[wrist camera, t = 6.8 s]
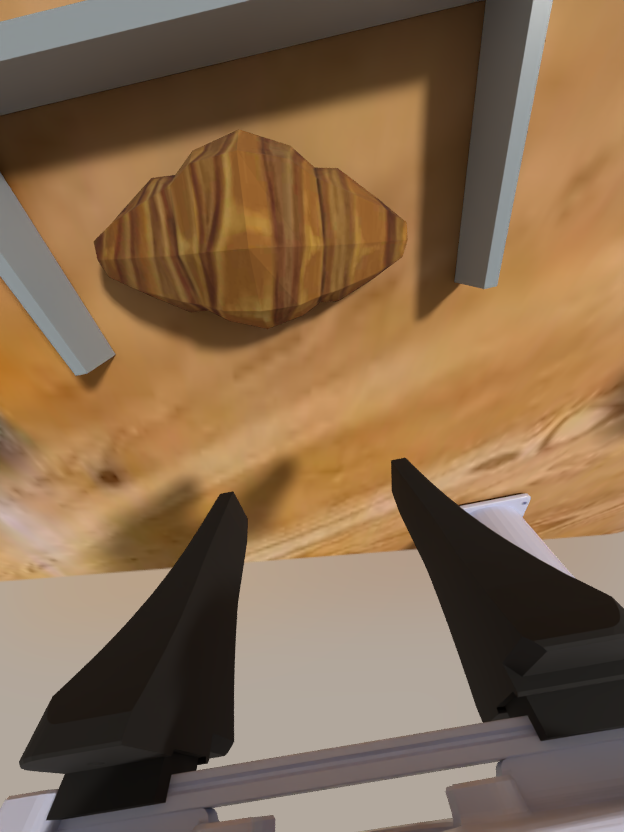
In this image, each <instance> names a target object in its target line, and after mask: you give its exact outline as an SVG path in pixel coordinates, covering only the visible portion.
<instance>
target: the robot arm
mask: <svg viewBox="0 0 624 832" xmlns="http://www.w3.org/2000/svg"><path fill="white" fill-rule="evenodd" d="M391 474H392V493H393V496H394V499H395V502H396V504H397V507H398V510H399V512H400V515H401V517H402V519H403V521H404V523H405V525H406V527H407V529H408V531H409V533H410V535H411V537H412V539H413V541H414V543H415V545H416V547H417V550H418V552H419V554H420V555H421V558H422V560H423V562H424V564H425V566H426V568H427V571H428V573H429V576H430V578H431V581H432V584H433V586H434V589H435V591H436V594H437V596H438V599H439V602H440V604H441V607H442V610H443V613H444V615H445V618H446V621H447V623H448V626H449V629H450V632H451V634H452V637H453V640H454V643H455V646H456V648H457V651H458V654H459V657H460V660H461V663H462V666H463V669H464V672H465V674H466V677H467V680H468V683H469V686H470V689H471V692H472V695H473V698H474V701H475V704H476V707H477V710H478V712H479V715H480V717H481V719H482V722H483V723H479V724H473V725H467V726H461V727H455V728H449V729H443V730H437V731H431V732H425V733H419V734H413V735H407V736H401V737H396V738H389V739H383V740H377V741H372V742H365V743H359V744H353V745H347V746H341V747H336V748H329V749H323V750H318V751H312V752H305V753H299V754H293V755H287V756H281V757H276V758H269V759H263V760H257V761H251V762H246V763H240V764H233V765H227V766H222V767H216V768H210V769H203V770H198V771H196V769H197V765H201V764H207V763H208V761H209V758H215V757H221V756H225V755H226V754H227V753H228V751H229V750H230V748H231V746H232V744H233V742H234V668H235V666H234V665H235V641H236V624H237V608H238V598H239V592H240V584H241V579H242V572H243V565H244V559H245V552H246V545H247V529H248V518H247V516H246V515H245V513H244V511H243V509H242V507H241V505H240V503H239V501H238V499H237V497H236V496H235V494H234V492H228V493H223V494H220V495H219V497H218V498H217V500H216V501H215V503H214V505H213V506H212V508H211V510H210V511H209V513H208V515H207V516H206V518H205V520H204V521H203V523H202V525H201V526H200V528H199V529H198V531H197V532H196V534H195V536H194V537H193V539H192V540H191V542H190V543H189V545H188V546H187V548H186V549H185V551H184V552H183V554H182V555H181V556H180V558H179V559H178V561H177V562H176V564H175V565H174V566H173V568H172V569H171V570H170V572H169V573H168V575H167V576H166V577H165V578H164V580H163V581H162V582H161V584H160V585H159V586H158V587H157V589H156V590H155V591H154V592H153V594H152V595H151V596H150V597H149V598H148V599H147V601H146V602H145V603H144V604H143V605H142V606H141V607H140V609H139V610H138V611H137V612H136V613H135V615H134V616H133V617H132V618H131V619H130V620H129V621H128V622H127V623H126V625H125V626H124V627H123V628H122V629H121V630H120V631H119V632H118V633H117V634H116V635H115V636H114V637H113V638H112V639H111V641H109V643H108V644H107V645H106V646H105V647H104V648H103V649H102V650H101V651H100V652H99V653H98V654H97V655H96V656H95V657H94V658H93V659H92V660H91V661H90V662H89V663H88V664H86V665H85V666H84V668H82V669H81V670H80V671H79V672H78V673H77V674H76V675H75V676H74V677H73V678H72V679H71V680H70V681H69V682H68V683H67V684H65V685H64V686H63V687H62V688H61V689H60V691H58V692H57V693H56V694H55V695H54V696H53V697H52V699H51V701H50V703H49V705H48V707H47V708H46V710H45V712H44V715H43V716H42V718H41V720H40V722H39V724H38V726H37V728H36V730H35V732H34V734H33V736H32V738H31V740H30V742H29V744H28V745H27V747H26V749H25V751H24V753H23V755H22V757H21V759H20V761H19V764H20V767H21V768H22V769H24V770H30V771H39V772H51V773H62V774H65V775H64V778H63V780H62V782H61V785H60V787H59V789H54V790H45V791H38V792H32V793H26V794H20V795H15V796H9V797H8V798H7V799H6V800H5V801H4V803H3V805H2V807H1V809H0V832H275V818H274V816H273V815H270V816H262V817H250V818H243V819H236V820H229V821H222V822H220V821H219V820H218V816H217V813H216V811H215V810H214V809H213V808H215V807H221V806H227V805H233V804H239V803H246V802H252V801H258V800H264V799H270V798H276V797H283V796H288V795H295V794H301V793H307V792H313V791H319V790H326V789H331V788H338V787H344V786H350V785H356V784H362V783H369V782H375V781H380V780H387V779H393V778H399V777H405V776H412V775H417V774H424V773H430V772H436V771H442V770H449V769H454V768H461V767H467V766H473V765H479V764H485V763H492V762H498V761H500V762H498V763H497V766H496V777H494V778H488V779H482V780H476V781H470V782H465V783H459V784H453V785H452V786H449V787H447V788H446V795H447V798H448V802H449V805H450V808H451V812H452V816H453V818H449V819H442V820H435V821H428V822H420V823H413V824H407V825H400V826H392V827H386V828H379V829H373V830H367V831H361V832H624V608H623V607H622V606H620V604H619V603H618V602H617V601H615V600H614V599H613V598H612V597H611V596H609V595H607V594H605V593H603V592H601V591H599V590H597V589H595V588H593V587H591V586H589V585H587V584H585V583H583V582H581V581H579V580H577V579H576V578H575V577H574V576H573V575H572V574H571V573H570V572H569V571H568V569H567V568H566V567H565V566H564V565H563V564H562V562H560V560H559V559H558V558H557V557H556V556H555V554H554V553H553V552H552V551H551V550H550V549H549V548H548V546H547V545H546V544H545V543H544V542H543V541H542V539H541V538H540V537H539V536H538V535H537V534H536V533H535V531H534V530H533V529H532V528H531V527H530V526H529V525H528V523H527V522H526V521H525V520H524V519H523V518H522V517H523V515H524V513H525V510H526V508H527V506H528V504H529V501H530V499H531V497H530V496H529V495H528V494H526V493H524V494H519V495H514V496H509V497H503V498H498V499H493V500H488V501H483V502H478V503H472V504H467V505H462V506H458V505H457V504H456V503H455V502H453V501H452V500H451V499H450V498H449V497H447V496H446V495H445V494H444V493H443V492H442V491H440V490H439V489H438V488H437V487H436V486H435V485H433V484H432V483H431V482H430V481H429V480H428V479H427V478H426V477H425V476H424V475H423V474H422V473H421V472H419V471H418V470H417V469H416V468H415V467H414V466H413V465H412V464H411V463H410V462H409V461H408V460H407V459H406V458H401V459H396V460H391Z"/></svg>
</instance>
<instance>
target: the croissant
mask: <svg viewBox="0 0 624 832" xmlns="http://www.w3.org/2000/svg"><path fill="white" fill-rule="evenodd" d="M406 243H407V225H406V221H404V220H403V219H401V218H400V217H399V216H398V215H397V214H395V213H394V212H393V211H392V210H391V209H389V208H388V207H387V206H386V205H385V204H383V203H382V202H381V201H380V200H379V199H377V198H376V197H375V196H373V195H372V194H371V193H369V192H368V191H367V190H366V189H364V188H363V187H362V186H360V185H359V184H358V183H356V182H355V181H354V180H352V179H351V178H350V177H348V176H347V175H346V174H345V173H343V172H342V171H341V170H339V169H338V168H314V167H313V166H312V165H311V164H310V163H309V162H308V161H307V160H305V159H304V158H303V157H302V156H301V155H300V154H299V153H298V152H297V151H296V150H294V149H293V148H292V147H291V146H289V145H286V144H282V143H279V142H276V141H273V140H270V139H267V138H264V137H261V136H257V135H254V134H251V133H248V132H245V131H242V130H237V131H235V132H232V133H230V134H228V135H226V136H224V137H222V138H219V139H217V140H215V141H213V142H211V143H209V144H206V145H204V146H202V147H200V148H198V149H196V150H193V151H192V152H191V154H190V155H189V157H188V158H187V160H186V161H185V162H184V164H183V165H182V167H181V168H180V169H179V171H178V172H177V174H176V175H172V176H164V177H157V178H151V179H150V181H149V182H148V183H147V184H146V185H145V186H144V187H143V188H142V189H141V191H140V192H139V193H138V194H137V195H136V196H135V197H134V198H133V199H132V201H131V202H130V203H129V204H128V205H127V206H126V207H125V208H124V210H123V211H122V212H121V213H120V214H119V215H118V216H117V218H116V219H115V220H114V221H113V223H112V224H111V225H110V226H109V227H108V228H107V229H106V230H105V231H104V232H103V233H102V234H101V235H100V236H99V237H98V238H97V239H96V240H95V241H94V245H95V250H96V254H97V259H98V261H99V263H100V264H101V266H102V267H103V269H104V270H105V272H106V273H107V275H108V276H109V277H110V278H112V279H115V280H117V281H119V282H121V283H123V284H126V285H128V286H130V287H132V288H134V289H137V290H139V291H141V292H143V293H146V294H148V295H150V296H153V297H155V298H158V299H160V300H162V301H165V302H167V303H170V304H172V305H175V306H177V307H180V308H182V309H184V310H187V311H189V312H197V311H207V310H209V311H211V312H213V313H215V314H217V315H219V316H221V317H223V318H225V319H227V320H229V321H232V322H237V323H242V324H247V325H252V326H257V327H262V328H266V329H268V328H271V327H274V326H276V325H279V324H282V323H284V322H287V321H289V320H292V319H295V318H297V317H300V316H302V315H304V314H305V313H307V312H308V311H309V310H311V309H312V308H313V307H315V306H316V305H317V304H319V303H320V302H328V301H339V300H340V299H342V298H343V297H345V296H347V295H348V294H350V293H351V292H353V291H354V290H356V289H358V288H359V287H361V286H362V285H364V284H365V283H367V282H369V281H370V280H372V279H373V278H375V277H376V276H377V275H379V274H380V273H381V272H383V271H384V270H385V269H387V268H388V267H389V266H391V265H392V264H393V263H395V262H396V261H397V260H399V259H400V258H401V257H402V256H403V253H404V249H405V246H406Z"/></svg>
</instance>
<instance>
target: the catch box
mask: <svg viewBox="0 0 624 832" xmlns="http://www.w3.org/2000/svg"><path fill="white" fill-rule="evenodd" d="M478 1H482V0H86V1H82V2H78V3H74V4H70V5H66V6H62V7H58V8H54V9H50V10H46V11H42V12H38V13H34V14H30V15H26V16H22V17H18V18H14V19H10V20H6V21H2V22H0V115H4V114H9V113H13V112H17V111H21V110H25V109H30V108H34V107H38V106H42V105H46V104H50V103H55V102H59V101H63V100H67V99H71V98H76V97H80V96H84V95H88V94H92V93H97V92H101V91H105V90H109V89H113V88H117V87H122V86H126V85H130V84H134V83H138V82H143V81H147V80H151V79H155V78H159V77H164V76H168V75H172V74H176V73H180V72H184V71H189V70H193V69H197V68H201V67H205V66H210V65H214V64H218V63H222V62H226V61H231V60H235V59H239V58H243V57H247V56H251V55H256V54H260V53H264V52H268V51H272V50H277V49H281V48H285V47H289V46H293V45H298V44H302V43H306V42H310V41H314V40H318V39H323V38H327V37H331V36H335V35H339V34H344V33H348V32H352V31H356V30H360V29H365V28H369V27H373V26H377V25H381V24H385V23H390V22H394V21H398V20H402V19H406V18H411V17H415V16H419V15H423V14H427V13H431V12H436V11H440V10H444V9H448V8H452V7H457V6H461V5H465V4H469V3H473V2H478ZM552 2H553V0H486V4H485V13H484V22H483V31H482V40H481V49H480V58H479V67H478V76H477V85H476V94H475V103H474V112H473V121H472V130H471V138H470V147H469V156H468V165H467V174H466V183H465V192H464V201H463V210H462V219H461V228H460V237H459V246H458V255H457V264H456V273H455V282H456V283H460V284H465V285H469V286H473V287H478V288H482V289H486V288H491V287H495V286H497V283H498V278H499V273H500V268H501V263H502V258H503V253H504V248H505V242H506V237H507V232H508V227H509V222H510V217H511V212H512V207H513V201H514V196H515V191H516V186H517V181H518V176H519V171H520V166H521V161H522V155H523V150H524V145H525V140H526V135H527V130H528V125H529V120H530V114H531V109H532V104H533V99H534V94H535V89H536V84H537V79H538V74H539V68H540V63H541V58H542V53H543V48H544V43H545V38H546V33H547V27H548V22H549V17H550V12H551V7H552ZM0 276H1V278H2V279H3V280H4V282H5V283H6V284H7V286H8V287H9V288H10V290H11V291H12V292H13V294H14V295H15V296H16V297H17V299H18V300H19V301H20V303H21V304H22V305H23V307H24V308H25V309H26V311H27V312H28V313H29V315H30V316H31V317H32V319H33V320H34V321H35V323H36V324H37V325H38V327H39V328H40V329H41V330H42V332H43V333H44V334H45V336H46V337H47V338H48V340H49V341H50V342H51V344H52V345H53V346H54V348H55V349H56V350H57V352H58V353H59V354H60V356H61V357H62V358H63V360H64V361H65V362H66V363H67V365H68V366H69V367H70V369H71V370H72V371H73V373H74V374H75V375H76V376H77V375H82V374H86V373H89V372H90V371H92V370H93V369H95V368H96V367H98V366H99V365H101V364H102V363H104V362H105V361H107V360H108V359H110V358H111V357H113V356H114V355H116V354H115V353H114V351H113V350H112V348H111V347H110V345H109V343H108V342H107V340H106V339H105V337H104V335H103V334H102V332H101V331H100V329H99V328H98V326H97V324H96V323H95V321H94V320H93V318H92V317H91V315H90V313H89V312H88V310H87V309H86V307H85V305H84V304H83V302H82V301H81V299H80V298H79V296H78V294H77V293H76V291H75V290H74V288H73V286H72V285H71V283H70V282H69V280H68V279H67V277H66V275H65V274H64V272H63V271H62V269H61V267H60V266H59V264H58V263H57V261H56V260H55V258H54V256H53V255H52V253H51V252H50V250H49V248H48V247H47V245H46V244H45V242H44V241H43V239H42V237H41V236H40V234H39V233H38V231H37V229H36V228H35V226H34V225H33V223H32V222H31V220H30V218H29V217H28V215H27V214H26V212H25V211H24V209H23V207H22V206H21V204H20V203H19V201H18V199H17V198H16V196H15V195H14V193H13V192H12V190H11V188H10V187H9V185H8V184H7V182H6V180H5V179H4V177H3V176H2V174H1V173H0Z"/></svg>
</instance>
